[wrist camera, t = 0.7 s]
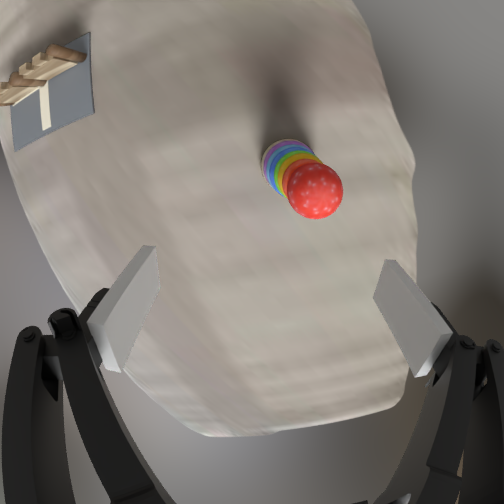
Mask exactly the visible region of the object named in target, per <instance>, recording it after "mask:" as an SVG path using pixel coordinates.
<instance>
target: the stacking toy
mask: <svg viewBox="0 0 504 504" xmlns="http://www.w3.org/2000/svg"><path fill="white" fill-rule="evenodd" d="M261 170H262V174H263V177H264V179H265V181H266V182H267V183H268V185H270V186H271V187H272V188H273V189H274V190H275V191H277V192H278V193H279V194H281V195H282V196H284V197H286V198H288V200H289V203H290V204H291V206H292V208H293V209H294V210H295V211H296V212H297V213H299V214H300V215H302V216H304V217H306V218H310V219H321V218H325V217H327V216H329V215H331V214H332V213H334V212H335V211H336V209H337V208H338V207H339V205H340V203H341V200H342V197H343V186H342V182H341V180H340V178H339V176H338V175H337V173H336V172H335V171H334V170H333V169H331V168H330V167H328V166H326V165H324V164H323V163H322V162H321V160H319V159H318V158H317V157H316V156H315V154H314V152H313V151H312V150H311V149H310V148H309V147H308V146H307V145H305V144H304V143H302V142H300V141H298V140H294V139H283V140H279V141H277V142H275V143H273V144H272V145H270V146H269V147H268V148H267V150H266V151H265V153H264V155H263V157H262V161H261Z"/></svg>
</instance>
